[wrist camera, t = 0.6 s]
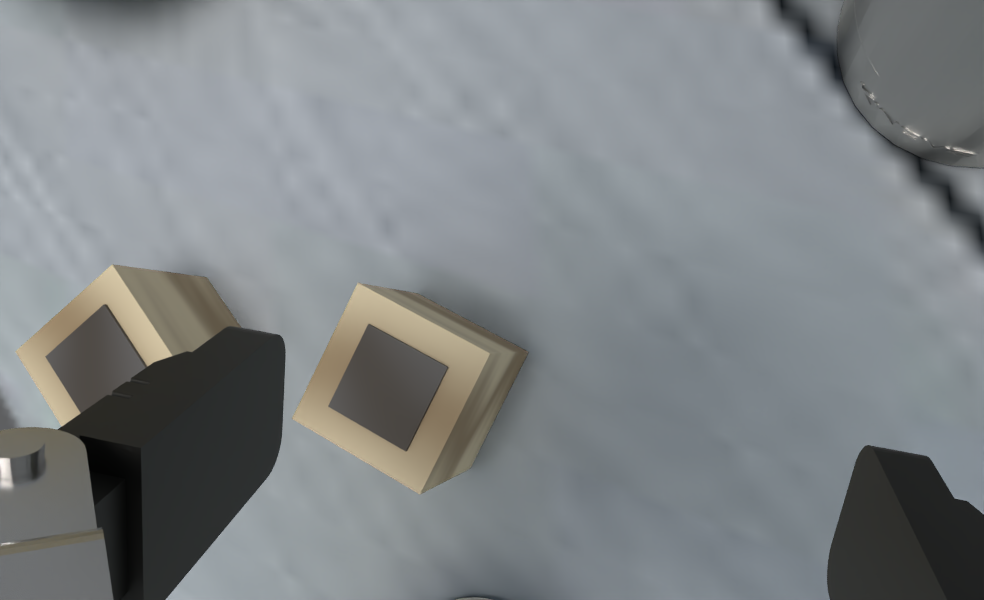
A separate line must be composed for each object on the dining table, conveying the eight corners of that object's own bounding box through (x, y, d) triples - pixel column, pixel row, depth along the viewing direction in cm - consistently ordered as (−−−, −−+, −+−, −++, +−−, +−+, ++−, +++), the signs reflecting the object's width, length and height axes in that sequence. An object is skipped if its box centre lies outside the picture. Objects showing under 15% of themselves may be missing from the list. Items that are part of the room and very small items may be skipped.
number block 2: (414, 291, 34) (352, 280, 28) (528, 352, 33) (488, 353, 27) (359, 404, 35) (286, 417, 29) (470, 468, 33) (418, 495, 27)
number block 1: (205, 274, 37) (107, 260, 31) (272, 372, 36) (184, 378, 30) (121, 347, 37) (10, 348, 31) (185, 445, 36) (82, 465, 30)
